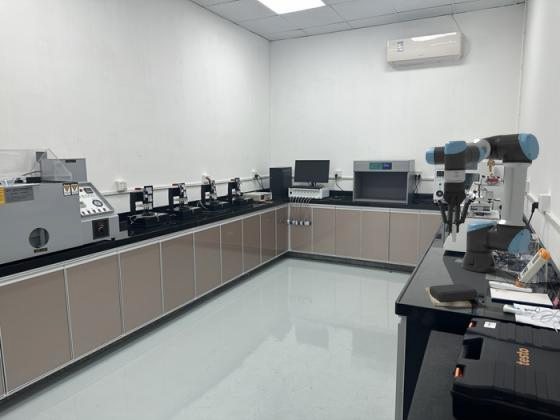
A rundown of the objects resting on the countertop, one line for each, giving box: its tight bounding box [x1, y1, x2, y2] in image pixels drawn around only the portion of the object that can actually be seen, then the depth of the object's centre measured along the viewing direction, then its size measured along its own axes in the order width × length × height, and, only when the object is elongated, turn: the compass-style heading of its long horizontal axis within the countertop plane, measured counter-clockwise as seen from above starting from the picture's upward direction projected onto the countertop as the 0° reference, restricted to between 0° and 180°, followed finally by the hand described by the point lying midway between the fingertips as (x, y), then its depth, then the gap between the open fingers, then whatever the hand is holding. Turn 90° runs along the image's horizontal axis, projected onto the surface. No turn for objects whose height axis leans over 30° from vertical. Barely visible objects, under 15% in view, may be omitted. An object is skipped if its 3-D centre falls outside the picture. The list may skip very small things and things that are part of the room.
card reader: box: [429, 283, 478, 302], centre depth 150 cm, size 9×4×15 cm
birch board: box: [425, 286, 472, 308], centre depth 153 cm, size 13×18×1 cm
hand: (453, 240), depth 152 cm, fingers closed
